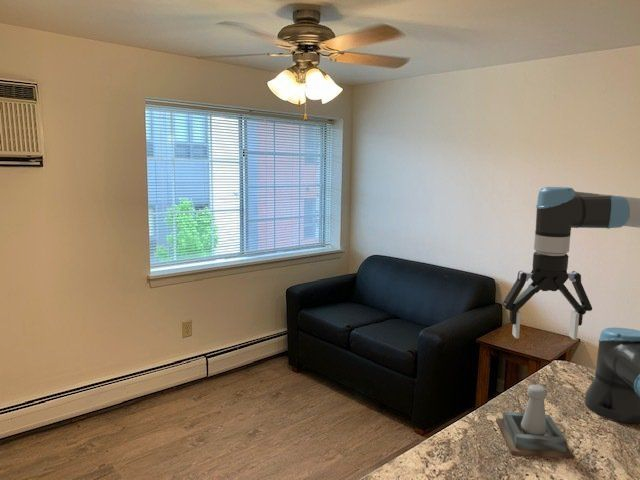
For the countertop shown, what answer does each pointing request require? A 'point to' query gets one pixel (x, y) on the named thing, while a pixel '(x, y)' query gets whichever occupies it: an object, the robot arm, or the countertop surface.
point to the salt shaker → (535, 412)
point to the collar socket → (533, 438)
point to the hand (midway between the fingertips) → (543, 337)
